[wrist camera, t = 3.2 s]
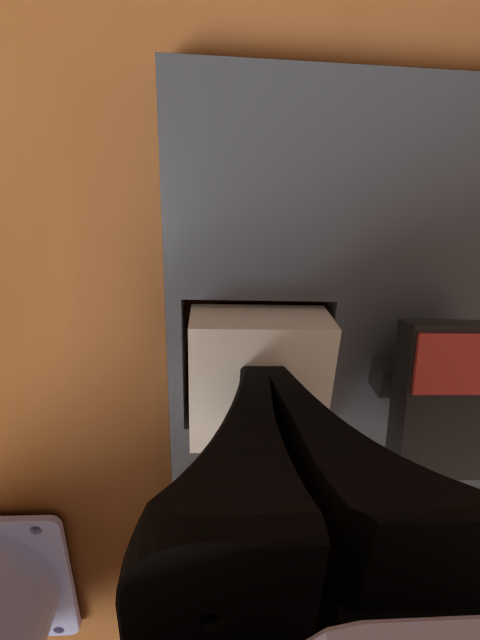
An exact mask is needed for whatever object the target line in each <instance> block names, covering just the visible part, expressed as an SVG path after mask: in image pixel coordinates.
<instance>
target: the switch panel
mask: <svg viewBox="0 0 480 640" xmlns="http://www.w3.org/2000/svg"><path fill="white" fill-rule="evenodd" d="M155 61H156V86H157V112H158V138H159V163H160V189H161V214H162V240H163V266H164V291H165V317H166V343H167V368H168V394H169V420H170V445H171V471H172V482H173V481H174V480H175V479H177V478H178V477H179V476H180V475H181V474H182V473H183V472H184V470H185V469H186V468H187V467H188V466H189V465H190V464H191V463H192V462H193V461H194V460H195V459H196V458H197V457H198V456H199V455H200V453H190V440H189V405H186V354H185V300H244V301H315V302H323V306H324V307H325V308H326V309H327V311H328V312H329V313H330V315H331V316H332V318H333V319H334V320H335V322H336V323H337V324H338V326H339V327H340V329H341V330H342V332H341V339H340V345H339V352H338V358H337V365H336V371H335V378H334V385H333V391H332V398H331V404H330V410H331V411H332V412H333V413H335V414H336V415H337V416H338V417H340V418H341V419H342V420H344V421H345V422H346V423H348V424H349V425H350V426H352V427H353V428H355V429H356V430H358V431H359V432H361V433H362V434H364V435H365V436H367V437H368V438H370V439H372V440H373V441H375V442H377V443H378V444H380V445H382V446H384V447H385V444H386V434H387V424H388V414H389V404H390V395H391V385H392V375H393V365H394V356H395V346H396V336H397V326H398V319H464V320H480V71H467V70H450V69H433V68H416V67H400V66H383V65H366V64H349V63H332V62H315V61H298V60H281V59H264V58H247V57H230V56H213V55H196V54H180V53H163V52H155ZM457 481H460V482H463V483H465V484H468V485H471V486H473V487H476V488H479V489H480V480H457Z"/></svg>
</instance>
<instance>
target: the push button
mask: <svg viewBox="0 0 480 640" xmlns="http://www.w3.org/2000/svg"><path fill="white" fill-rule="evenodd" d="M341 332H342V330H341V329H340V327H339V326H338V324H337V323H336V322H335V320H334V319H333V318H332V316H331V315H330V313H329V312H328V311H327V309H326V308H325V307H324V306H321V305H246V304H191V310H190V317H189V324H188V374H189V440H190V453H201V452H202V451H203V450H204V448H205V447H206V446H207V444H208V443H209V442H210V440H211V439H212V438H213V436H214V435H215V433H216V432H217V430H218V429H219V427H220V425H221V424H222V422H223V420H224V418H225V416H226V414H227V412H228V410H229V408H230V406H231V404H232V402H233V400H234V397H235V394H236V392H237V389H238V386H239V382H240V369H241V368H242V367H243V366H284V367H285V368H286V369H287V370H288V371H289V372H290V373H291V374H292V375H293V376H294V377H295V378H296V379H297V380H298V381H299V382H300V383H301V384H302V385H303V386H304V387H305V388H306V389H307V390H308V391H309V392H310V393H311V394H313V395H314V396H315V397H316V398H317V399H318V400H319V401H320V402H321V403H323V404H324V405H325V406H326V407H327V408H328V409H330V404H331V398H332V391H333V385H334V378H335V371H336V365H337V358H338V352H339V345H340V339H341Z"/></svg>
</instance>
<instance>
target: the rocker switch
mask: <svg viewBox="0 0 480 640" xmlns="http://www.w3.org/2000/svg"><path fill="white" fill-rule="evenodd" d="M385 447H386V448H387V449H389V450H391V451H393V452H395V453H396V454H398V455H400V456H402V457H404V458H406V459H408V460H410V461H412V462H414V463H417V464H419V465H421V466H423V467H425V468H428V469H430V470H432V471H434V472H437V473H439V474H441V475H444V476H446V477H449V478H452V479H454V480H480V320H464V319H398V326H397V336H396V346H395V356H394V365H393V375H392V385H391V395H390V404H389V414H388V424H387V434H386V444H385Z"/></svg>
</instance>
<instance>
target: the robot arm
mask: <svg viewBox="0 0 480 640" xmlns="http://www.w3.org/2000/svg"><path fill="white" fill-rule="evenodd" d="M115 605H116V612H117V619H118V627H119V634H120V640H480V489H479V488H476V487H473V486H471V485H468V484H465V483H463V482H460V481H457V480H454V479H452V478H449V477H446V476H444V475H441V474H439V473H437V472H434V471H432V470H430V469H428V468H425V467H423V466H421V465H419V464H417V463H414V462H412V461H410V460H408V459H406V458H404V457H402V456H400V455H398V454H396V453H395V452H393V451H391V450H389V449H387V448H386V447H384V446H382V445H380V444H378V443H377V442H375V441H373V440H372V439H370V438H368V437H367V436H365V435H364V434H362V433H361V432H359V431H358V430H356V429H355V428H353V427H352V426H350V425H349V424H348V423H346V422H345V421H344V420H342V419H341V418H340V417H338V416H337V415H336V414H335V413H333V412H332V411H331V410H330V409H328V408H327V407H326V406H325V405H324V404H323V403H321V402H320V401H319V400H318V399H317V398H316V397H315V396H314V395H313V394H311V393H310V392H309V391H308V390H307V389H306V388H305V387H304V386H303V385H302V384H301V383H300V382H299V381H298V380H297V379H296V378H295V377H294V376H293V375H292V374H291V373H290V372H289V371H288V370H287V369H286V368H285V367H284V366H243V367H242V368H241V369H240V382H239V386H238V389H237V392H236V394H235V397H234V400H233V402H232V404H231V406H230V408H229V410H228V412H227V414H226V416H225V418H224V420H223V422H222V424H221V425H220V427H219V429H218V430H217V432H216V433H215V435H214V436H213V438H212V439H211V440H210V442H209V443H208V444H207V446H206V447H205V448H204V450H203V451H202V452H201V453H200V455H199V456H198V457H197V458H196V459H195V460H194V461H193V462H192V463H191V464H190V465H189V466H188V467H187V468H186V469H185V470H184V472H183V473H182V474H181V475H180V476H179V477H178V478H177V479H175V480H174V481H173V482H172V483H171V484H170V485H168V486H167V487H166V488H165V489H164V490H162V491H161V492H160V493H159V494H157V495H156V496H155V497H154V498H153V499H151V500H150V501H149V502H148V503H147V505H146V507H145V509H144V511H143V513H142V515H141V517H140V519H139V521H138V523H137V525H136V527H135V530H134V532H133V534H132V537H131V539H130V542H129V545H128V548H127V550H126V553H125V556H124V559H123V563H122V567H121V572H120V576H119V581H118V585H117V590H116V603H115ZM80 626H81V617H80V611H79V606H78V601H77V596H76V591H75V585H74V580H73V575H72V570H71V565H70V559H69V554H68V549H67V544H66V538H65V533H64V528H63V523H62V521H61V519H60V518H59V517H57V516H55V515H19V516H0V640H47V638H48V636H61V635H74V634H76V633H77V632H78V631H79V630H80Z"/></svg>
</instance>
